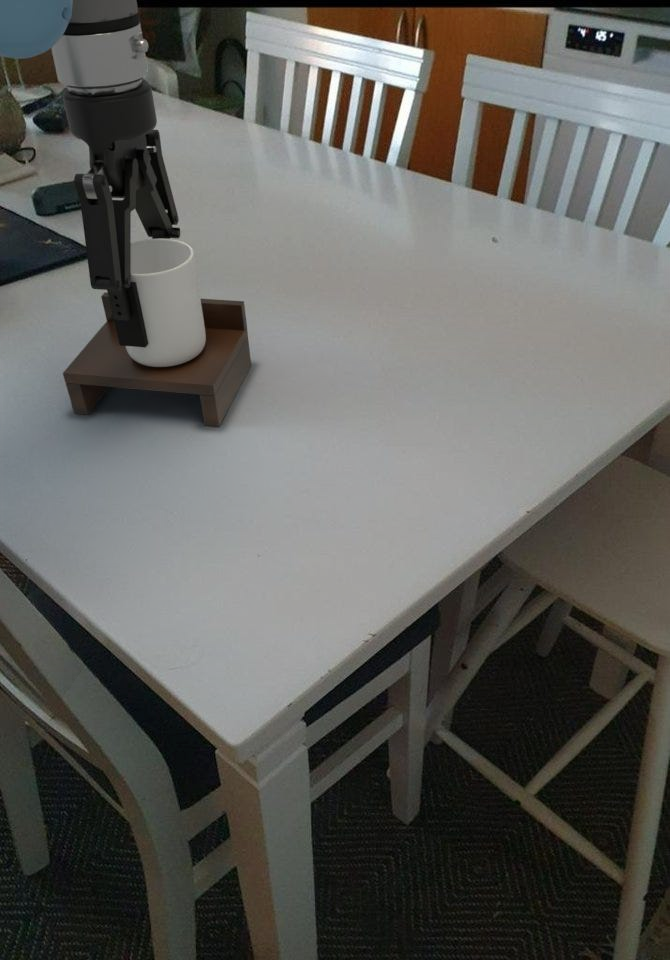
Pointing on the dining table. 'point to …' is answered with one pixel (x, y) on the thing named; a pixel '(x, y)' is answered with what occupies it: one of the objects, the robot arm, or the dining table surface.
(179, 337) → the cup
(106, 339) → the shelf
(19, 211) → the dining table surface
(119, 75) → the robot arm
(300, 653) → the dining table surface
